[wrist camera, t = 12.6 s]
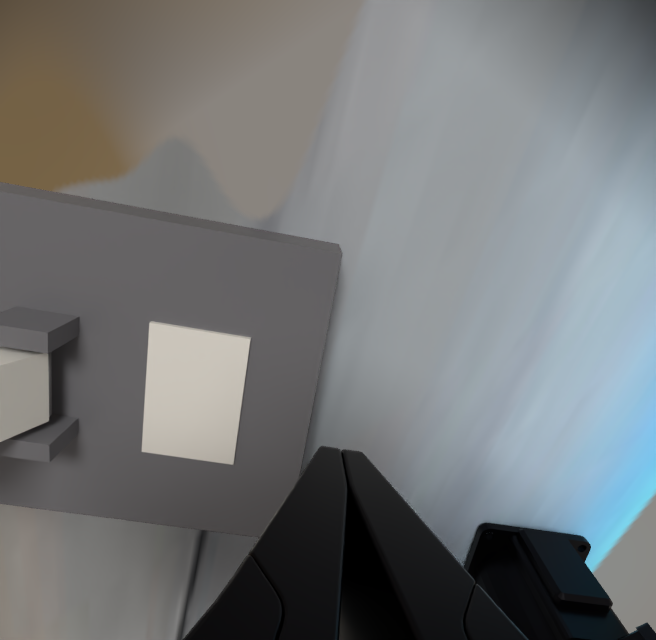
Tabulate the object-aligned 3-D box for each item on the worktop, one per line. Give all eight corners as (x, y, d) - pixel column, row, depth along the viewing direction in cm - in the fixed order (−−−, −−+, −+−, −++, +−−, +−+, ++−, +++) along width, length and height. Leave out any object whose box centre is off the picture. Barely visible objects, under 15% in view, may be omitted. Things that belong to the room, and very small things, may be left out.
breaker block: (291, 497, 23) (283, 577, 18) (-135, 438, 21) (-267, 510, 16) (338, 244, 19) (345, 261, 14) (-182, 148, 17) (-375, 131, 12)
